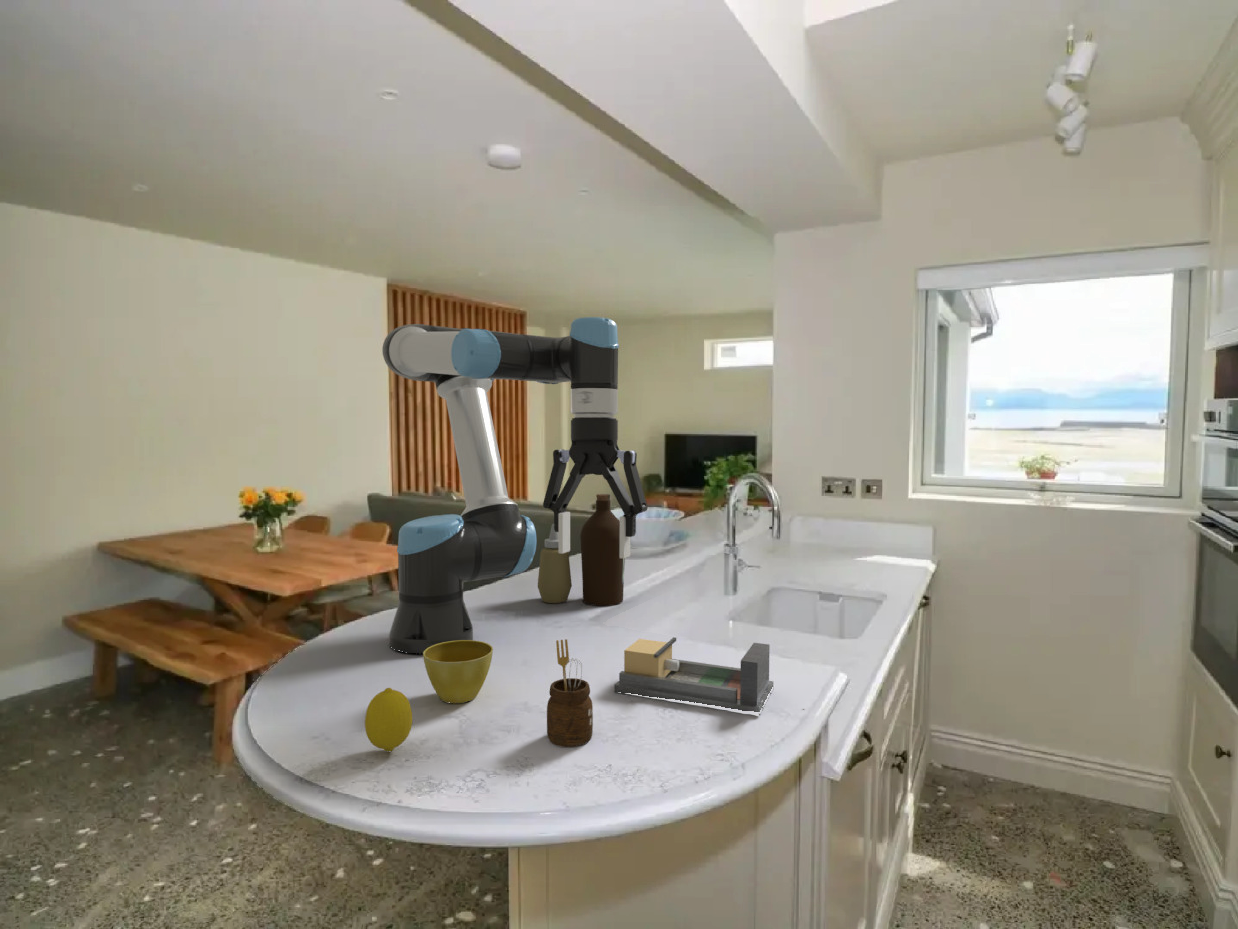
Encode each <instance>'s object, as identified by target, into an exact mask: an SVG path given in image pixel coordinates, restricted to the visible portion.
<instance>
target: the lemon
mask: <svg viewBox="0 0 1238 929" xmlns="http://www.w3.org/2000/svg"><path fill="white" fill-rule="evenodd" d="M364 718H365V720H364V728H365V734H366V736H367V738H368V741H369V742H370V743H371V744H372V745H373V746H374V747H376V748H378V749H382V750H384V751H385V752H386V751H391V752H393V751H394V749H395V748H398V747H399V746H401V745H402V744H403V743H404V742H405V741H406V740H407V739H408V737H409V736H410V732H411V730H412V725H413V711H412V707H411V704H410V701H409V698H408V697H407V696H406V695H405V694H404V693H402V692H401V691H399V690H396V689H393V688H392V687H386V688H384V690H383V691H380V692H378V693H377V694H376V695H375V696H374V697H372V699H371V700H370V702H369V703H368V706H367V709H366V712H365V717H364Z"/></svg>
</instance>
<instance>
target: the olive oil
mask: <svg viewBox="0 0 1238 929" xmlns="http://www.w3.org/2000/svg"><path fill="white" fill-rule="evenodd" d="M610 497H611V494H610V493H598V494H596V500H595V511H594V512H593V513H592V514H591V516H589V518H588V519H587V520H586V521H585V523H584V524H583V526H582V528H581V532H580V535H579V538H580V539H579V540H580V554H581V556H580V558H581V574H582V575H581V576H582V577H581V578H582V602H583V603H585V604H586V605H591V606H598V607H599V606H600V607H603V606H604V607H606V606H607V607H608V606H616V605H619V604H621V603H622V602H624V584H625V564H626V558H624V559H623V558H620V519H619V518H618V517H617V516H616V515H615V514H614V513H613V512H612V510H611V498H610Z"/></svg>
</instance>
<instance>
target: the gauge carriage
mask: <svg viewBox="0 0 1238 929" xmlns="http://www.w3.org/2000/svg"><path fill="white" fill-rule="evenodd" d="M675 642H677V637H672V638H671V639H670V640H668V641H667V642H666V641H659V640H658V641H657V640H652V639H643V638H639V639H637V640H635V642H632V644H630V645H629V646H628V647H626V649H624V651H623V652H624V654H623V655H624V656H623V659H624V660H623V661H624V665H623V666H624V668H623V671H625V672H632V673H638V674H645V675H652V676H658V677H666V676H667V675H668V674H669V673H670V672H671V671H678V669H679V661H678V660H679V659H677V660H672V659H673V644H675Z"/></svg>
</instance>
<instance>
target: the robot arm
mask: <svg viewBox="0 0 1238 929" xmlns="http://www.w3.org/2000/svg"><path fill="white" fill-rule="evenodd" d="M619 346H620V344H619V337H618V325H617V323H616V322H615V321H614V320H613V319H610V318H608V317H607V318H606V317H598V316H585V317H578V318H575V319H573V321H572V322H571V324H570V331H569V335H567V336H559V337H555V336H554V337H553V336H544V335H542V336H541V335H534V334H533V335H531V334H523V333H513V332H512V333H511V332H505V331H504V332H503V331H496V330H487V329H485V328H468V327H467V328H465V327H463V328H457V327H447V326H438V325H427V324H423V323H422V324H421V323H414V324H412V323H410V324H404V325H401V326H397V327H396V328H394V329H393V330H391V331H390V332H389V333H388V334H387V335H386V336H385V338H384V341H383V343H382V349H381V350H382V357H383V360H384V362H385V364H386V366H387V367H388V369H390V370H391V372H393V373H394V374H396V375H397V376H400V377H402V378H403V379H407V380H412V381H417V382H428V383H429V382H431V383H434V384H435V388H436V393H437V395H438V396H439V397H441V398H442V399H444V400H445V401H446V407H447V412H448V418H449V423H450V428H451V433H452V437H453V438H452V439H453V444H454V449H455V455H456V460H457V465H458V470H459V475H460V480H461V484H462V485H461V486H462V491H463V496H464V502H465V505H466V506H465V508H464V510H463V511H462V513H461V514H460V515H459V514H455V513H454V514H453V513H451V514H449V513H448V514H446V513H445V514H439V515H438V514H437V515H429V516H424V517H421V518H416V519H413V520H409V521H408V522H406V523H405V524H403V525H401V527H400V529H399V531H398V541H397V547H396V550H397V551H396V552H397V561H398V562H397V563H398V564H397V565H398V568H397V569H398V572H397V573H398V605H397V608H396V612H395V615H394V618H393V621H392V624H391V627H390V630H389V634H388V635H389V637H388V638H389V644H390V645H389V647H390V646H391V647H392V648H394V649H395V650H400V651H403V652H407V653H406V654H408V653H416V654H415V655H423V652H424V651H425V650H426V649H427V648H429V647H431V646H433V645H435V644H439V643H443V642H449V641H457V640H474V628H473V624H472V621H471V618H470V615H469V613H468V609H467V607H466V604H465V601H464V583H466V582H474V581H481V580H486V579H492V578H493V579H494V578H499V577H502V578H507V577H509V576H512V575H517V574H521V573H523V572H525V571H526V570H527V569H528V568H529V567H530V565H531V564H532V563H533V561H534V560H533V559H534V556H535V554H536V550H537V532H536V528H535V524H534V522H533V521H531V518H530V517H528V516H525V515H522V514H521V513H520V509H519V506H518V505H519V504H518V503H516V502H515V501H514V500H512V499H510V498H509V495H508V494H509V492H508V489H507V484H506V483H507V482H506V478H505V474H504V470H503V466H502V460H501V456H500V451H499V446H498V440H497V436H496V431H495V427H494V423H493V422H494V421H493V417H492V411H491V407H490V403H489V397H488V392H489V391H490V390H491V388H492V386H493V382H494V380H506V381H507V380H508V381H509V380H511V381H513V380H514V381H521V382H522V381H523V382H524V381H525V382H527V381H528V382H537V383H540V384H545V385H557V384H559V383H568V382H569V383H570V413H571V414H572V415H574V417H572V418H571V420H570V440H571V445H570V447H569V449H561V448H560V449H554V450H553V451H552V458H553V459H552V461H553V462H552V463H553V464H552V468H551V472H550V476H549V480H548V484H547V488H546V491H545V496H544V499H543V501H542V502H543V503H542V507H543V508H544V509H549V510H551V511H552V512H553V524H554V530H555V532H559V553H561V554H563V553H566V552H568V553H569V552H570V551H571V511H567V510H568V508H567V507H568V506H569V504H570V502H571V500H572V498H573V496H574V495H575V492H577V489H578V488H579V485H580V484H581V482H582V480H583V478H584V477H585V476H586V475H596V476H602V477H603V479H604V480H606V482H607V484H608V486H609V487H610V489H611V491H612V494H613V496H614V497H615V499H616V502H617V503H618V505H619V506H620V509H621V510H622V512H623V515H622V516H619V521H620V558H623V559H624V558H625V559H626V558H628V557H631V538H632V537H634V536H635V535H636V533H637V527H636V526H637V516H638V514H641V513H644V512H645V513H646V512H647V511H648V509H649V508H648V507H649V506H648V504H647V500H646V497H645V493H644V489H643V486H642V485H643V484H642V482H641V478H640V475H639V471H638V467H637V458H638V457H637V456H638V454H637V452H636V450H633V449H632V450H621V449H620V448H619V446H618V438H619V437H618V436H619V435H618V434H619V433H618V432H619V431H618V430H619V429H618V428H619V427H618V426H619V424H618V423H619V421H618V419H617V417H615V415H617V414H618V413H619V398H618V397H619V396H618V393H619V392H618V387H619V386H618V383H619ZM570 458H571V461H572V462H573V464H574V465H573V467H572V469H571V471H569V472H570V473H569V477H568V478H567V480H566V482H565V484H564V486H563V488H562V484H563V481H564V477H565V473H566V468H567V463H568V462H569V461H570ZM618 459H619V460H620V462H621V464H622V465H623V471H624V473H625V478H626V482H627V485H628V489H629V493H630V495H629V493H628V491H627V488H626V487H625V485H624V483H623V481H622V480H621V478H620V473H619V471H618V469H617V467H616V465H615V463H616V462H617V460H618ZM391 647H390V648H391ZM392 648H391V649H392ZM395 650H394V651H395ZM417 653H419V654H417ZM421 653H422V654H421Z"/></svg>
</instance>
